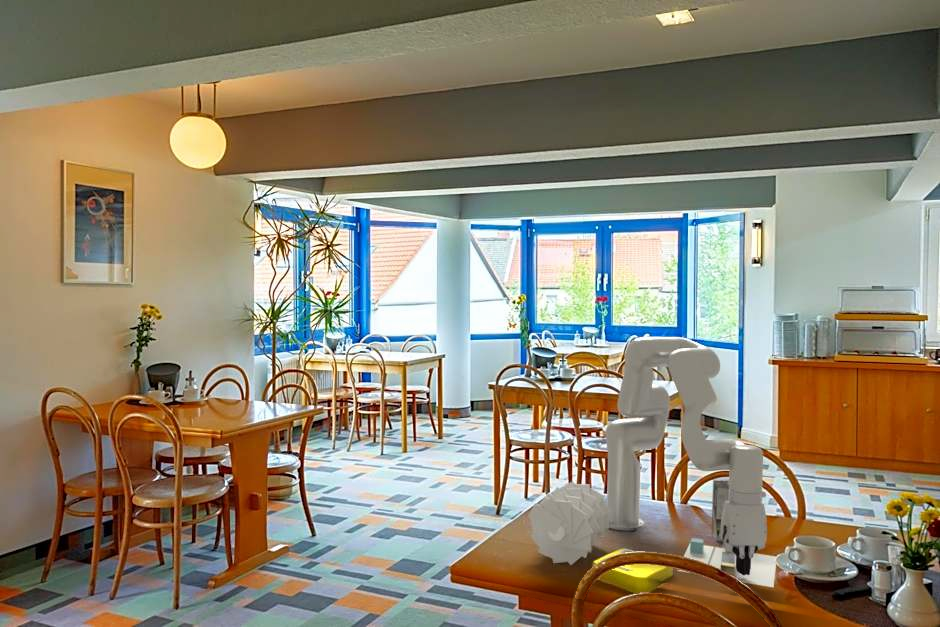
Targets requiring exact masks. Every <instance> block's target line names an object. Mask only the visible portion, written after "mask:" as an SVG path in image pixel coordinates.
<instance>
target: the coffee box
mask: <svg viewBox="0 0 940 627" xmlns="http://www.w3.org/2000/svg"><path fill="white" fill-rule="evenodd" d="M725 501H729V480H714V479H713V480H712V501H711V502H712V504H711V506H712V508H711V537H712V538H713V539H714V540H715V541H717V542H724V541H723V540H721V538H720V528H721V519H722V512H723V508H724V504H725Z"/></svg>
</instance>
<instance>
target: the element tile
mask: <svg viewBox="0 0 940 627" xmlns="http://www.w3.org/2000/svg"><path fill="white" fill-rule="evenodd" d="M625 552H636V551H635V550H632V549H629V548H623V547H622V548H620V549H616V550H615V551H612V552H610V553H608V554H605V555H603V556H601V557H598V558H597V559H593V561H592V566H591V568H592V567H593V566H594V565H595V564H597V563H598V562H600V561H601V560H603V559H605V558H607V557H609V556H612V555H616V554H620V553H625ZM673 568H674V567H673ZM673 568H670V567H665V566H659V565H650V564H634V565H625V566H620V567H617V568H615V569H612V570H610V571H608V572H606V573H605V574H603V575H602V576H601V577H600V580H604V581H607V582H610V583H612V584H615V585H618V586H620V587H622V588H624V589H626V590H625V591H627V592H631V593H634V594H636V593H640V592H650V593H652V592H653V591H652V590H654V589H655V588H657V587H658V586H660V585H661V584H663V583H665V582H666V581H665V580H667V579H669V578H672V576H673V575H674V574H673V571H674V570H673ZM624 589H623V590H624ZM651 591H652V592H651ZM654 591H655V590H654Z"/></svg>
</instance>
